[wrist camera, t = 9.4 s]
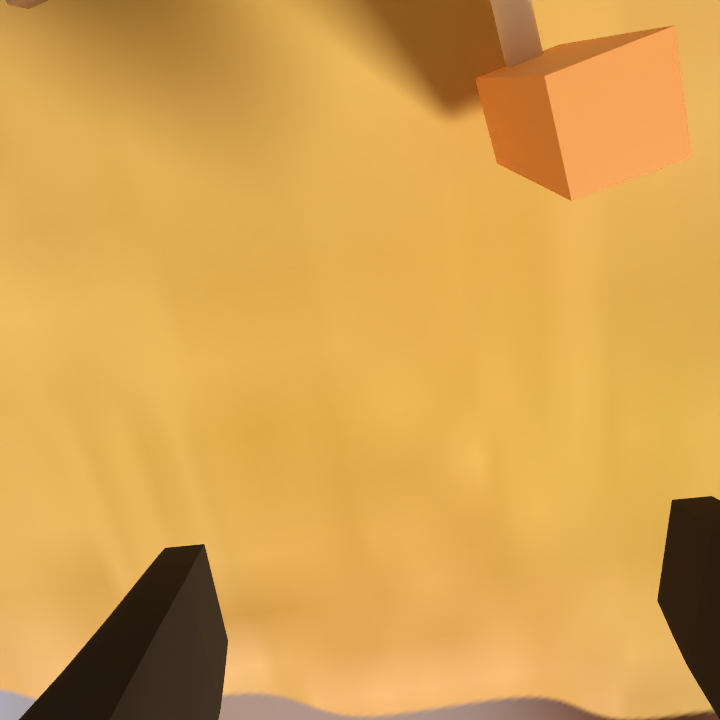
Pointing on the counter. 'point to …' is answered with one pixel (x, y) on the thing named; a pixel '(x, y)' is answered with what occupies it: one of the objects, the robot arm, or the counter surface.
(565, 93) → the rod with orange block
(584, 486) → the counter surface
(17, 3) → the lane shelf
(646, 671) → the counter surface
